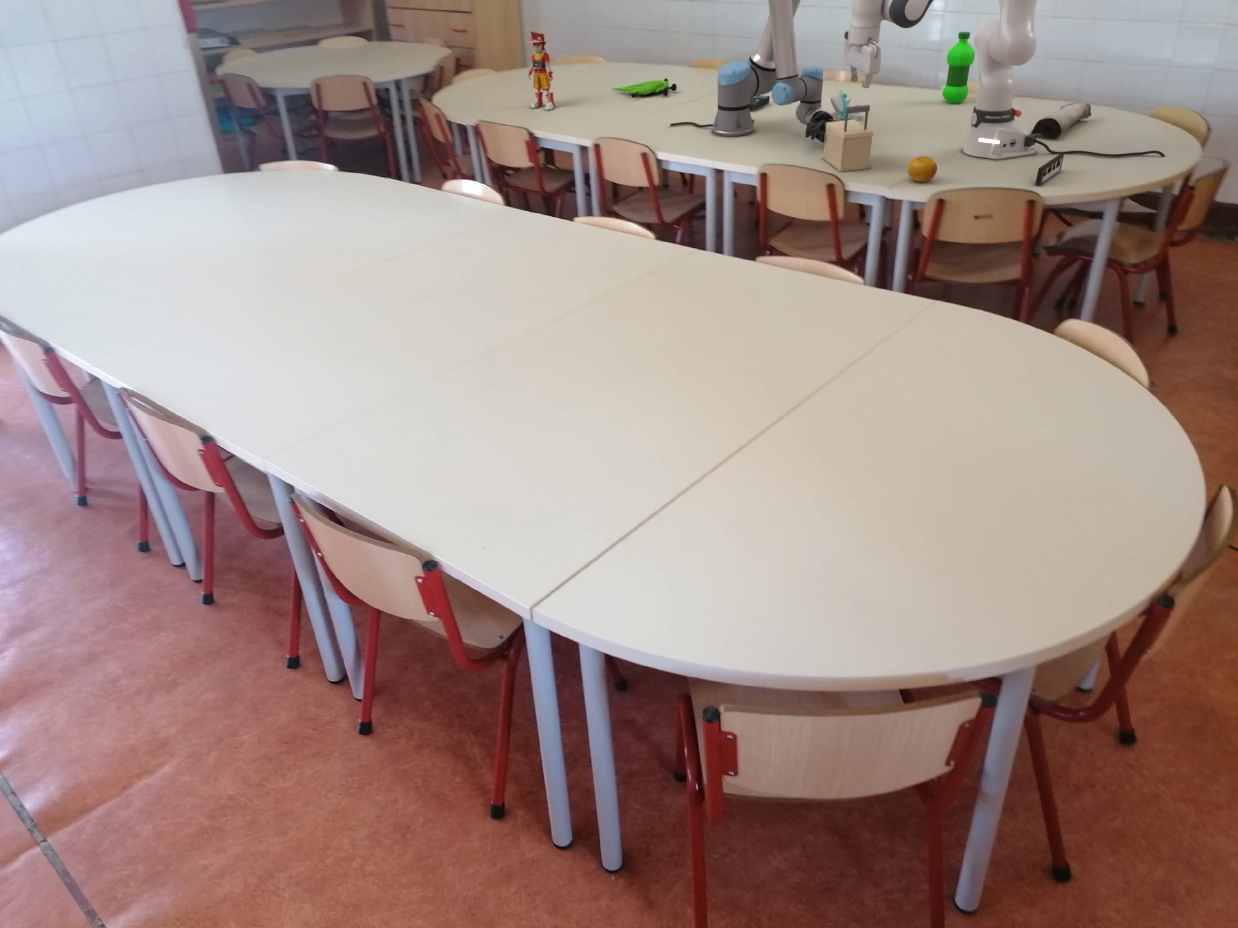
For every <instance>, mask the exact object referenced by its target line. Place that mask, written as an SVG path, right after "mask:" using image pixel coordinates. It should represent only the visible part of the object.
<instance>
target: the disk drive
mask: <svg viewBox="0 0 1238 928" xmlns="http://www.w3.org/2000/svg"><path fill="white" fill-rule="evenodd" d="M770 99H771V98H770V95H758V96H755V97H751V98H749V111H756V110H758V109H760V108H761V107H763V106H765V105H768V104H769V103H770Z"/></svg>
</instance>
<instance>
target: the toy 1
mask: <svg viewBox="0 0 1238 928" xmlns="http://www.w3.org/2000/svg"><path fill="white" fill-rule="evenodd" d="M529 33H530V35H531V36H528V37H527V38H528V39H529V40H528V41H527V43H529V44H530V43H531V44H532V48H533V50H534V51H533V52H532V55H531V58H530V59H531V63H530V66H528V74H527V75H528V76H527V77H528V79H529V80H531V75H532V74H533V84H532V85H533V86H532V87H533V88H534V89H535V90H536V92H534V95H535V97H536V100H535V101H533V102H531V105H530V108H531V109H535V108H538V107H542V106H544V101H543V100H544V99H543V95H544V92H546V94H545V97H546V99H547V103H546V104H545V106H544V110H546V111H549V110H553V109H554V107H555V106H556V105H555V99H554V92H551V91H550V90H551V86H552V84H551V82H552V81H553V80H554V77H553V73H554V71H555V70H554V69H552V68H551V63H550V61H551V59H550V58H551V57H550V54H549V53H548V52H547V50H546V48H545V46H546V44H547V41H545V35H544V33H543V32H542V33H539V32H535V31H529Z"/></svg>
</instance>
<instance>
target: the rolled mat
mask: <svg viewBox="0 0 1238 928" xmlns="http://www.w3.org/2000/svg"><path fill="white" fill-rule="evenodd" d="M1091 116H1092V105H1091V104H1090V103H1089V102H1082V101H1080V102H1079V101H1078V102H1073V103H1072V102H1071V103H1065V104H1063V105H1061V106H1060V108H1059V109H1058V110H1056V111H1053V112H1052V113H1050V114H1048V115H1046V116H1044V117H1042V118H1040V119H1039V120H1037V121H1036V123H1035V125H1034V126H1033V128H1032V130H1031V132H1030V133H1029V135H1030V134H1037V135H1041V136H1042V137H1043V138H1046V139H1051V140H1055V139H1056V140H1057V139H1058V138H1059V137H1060V136H1061V135H1063V134H1064V133H1065V132H1066V131H1067V129H1068V128H1070V127H1071V126H1073V124H1075V123H1076V122H1077V121H1079V120H1084V119H1085V120H1086V119H1087V118H1090V117H1091Z"/></svg>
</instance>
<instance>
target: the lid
mask: <svg viewBox="0 0 1238 928" xmlns="http://www.w3.org/2000/svg"><path fill="white" fill-rule="evenodd" d="M870 111H871V106H870V105H869V104H864V105H860V106H856V105H854V106H849V107H845V109H844V112H845V121H841V120H837V121H836V122H826V127H827V128H829V129H830V130H832V131H833V132H835V133H836V134H838V135H839V136H840V137H842V138H843V139H847V138H857V137H866V136H872V137H873V136H874V131H873V130H872V129H870V128H868V119H869V112H870ZM850 113H857V114H859V113H864V122H863V123H861V124H860V122H859V121H857V120H856V119H851V120H848V114H850ZM862 124H863V125H862Z"/></svg>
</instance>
